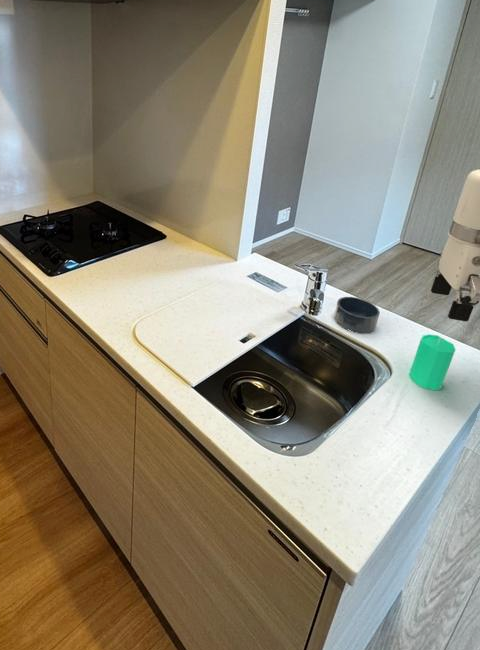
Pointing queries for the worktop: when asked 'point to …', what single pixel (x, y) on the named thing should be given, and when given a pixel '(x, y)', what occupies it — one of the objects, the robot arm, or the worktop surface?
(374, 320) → the bowl
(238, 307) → the worktop surface
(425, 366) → the candle
